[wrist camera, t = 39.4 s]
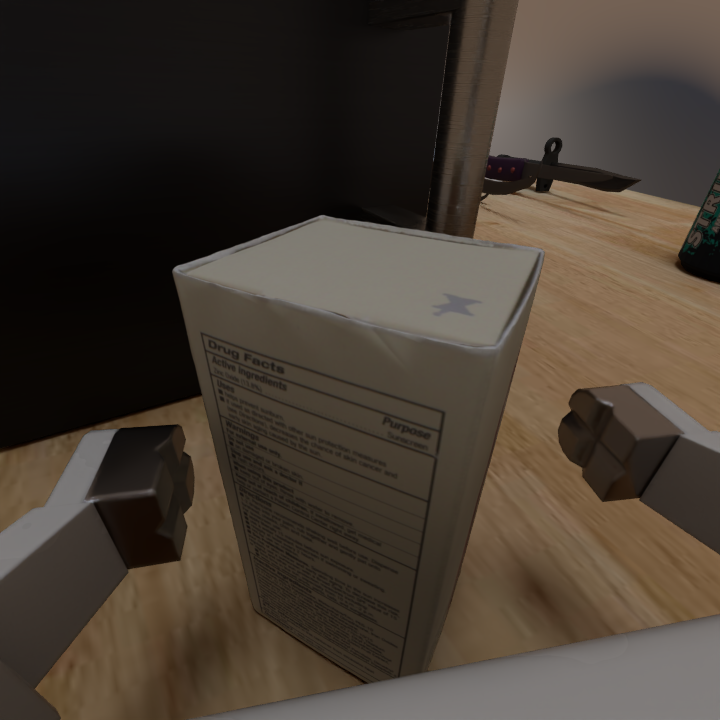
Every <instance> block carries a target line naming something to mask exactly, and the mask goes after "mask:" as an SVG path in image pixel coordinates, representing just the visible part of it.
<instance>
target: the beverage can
mask: <svg viewBox="0 0 720 720" xmlns="http://www.w3.org/2000/svg"><path fill="white" fill-rule="evenodd" d="M678 257H679V259H680V260H681V265H682V266H683V267H684V268H685V269H686V270H688V271H689V272H691V273H693V274H696V275H698V276H701V277H704V278H707V279H710V280H714V281H718V282H720V169H719V171H718V173H717V176H716V178H715V180H714V182H713V184H712V186H711V188H710V190H709V192H708V194H707V196H706V198H705V200H704V202H703V204H702V206H701V208H700V210H699V213H698V215H697V217H696V219H695V221H694V223H693V225H692V227H691V229H690V231H689V233H688V235H687V237H686V239H685V241H684V243H683V245H682V248H681V250H680V252H679V254H678Z"/></svg>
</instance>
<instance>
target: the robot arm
mask: <svg viewBox="0 0 720 720" xmlns="http://www.w3.org/2000/svg"><path fill="white" fill-rule="evenodd" d="M568 404H569V407H570V409H571V411H570V412H569V413H568V414H567V415H566V416H565V417H564V418H563V419H562V420H561V423H560V426H559V429H558V437H559V444H560V446H561V448H562V451H563V452H564V454H565V455H566V456H567V458H568V459H569V460H570V461H571V462H573V463H575V464H577V465H578V466H580V467H582V477H583V478H584V479H585V481H586V482H587V483H588V484H589V486H590V487H591V488H592V489H593V491H594V492H595V493H596V494H597V496H598V497H599V498H600V500H601V501H602V502H607V501H616V500H626V499H635V498H640V499H639V500H640V501H641V502H643V503H644V504H646V505H647V506H649V507H650V508H651V509H653V510H654V511H656V512H657V513H659V514H660V515H662V516H663V517H665V518H666V519H668V520H669V521H671V522H672V523H674V524H675V525H677V526H678V527H680V528H681V529H683V530H684V531H685V532H687V533H688V534H690V535H691V536H693V537H694V538H696V539H697V540H699V541H700V542H702V543H703V544H705V545H706V546H708V547H709V548H711V549H712V550H714V551H715V552H716V553H718V554H719V555H720V432H717V431H712V432H710V431H708V430H707V429H706V428H705V427H703V426H702V425H701V424H699V423H698V422H697V421H696V420H694V419H693V418H692V417H691V416H689V415H688V414H687V413H686V412H684V411H683V410H682V409H680V408H679V407H678V406H677V405H675V404H674V403H673V402H672V401H670V400H669V399H668V398H667V397H665V396H664V395H663V394H661V393H660V392H659V391H658V390H656V389H655V388H654V387H653V386H651V385H649V384H646V383H643V382H639V383H630V384H621V385H615V386H604V387H594V388H584V389H578V390H577V391H575V392H574V393H573V394H572V396H571V398H570V401H569V403H568ZM185 441H186V439H185V436H184V432H183V429H182V427H181V426H179V425H178V424H177V425H162V426H147V427H132V428H121V429H110V430H95V431H90V432H88V433H87V434H85V435H84V436H83V437H82V439H81V441H80V443H79V445H78V446H77V448H76V450H75V452H74V453H73V455H72V457H71V459H70V461H69V462H68V464H67V466H66V468H65V470H64V471H63V473H62V475H61V477H60V479H59V480H58V482H57V484H56V486H55V488H54V489H53V491H52V493H51V495H50V497H49V498H48V500H47V502H46V504H45V506H44V507H41V508H34V509H32V510H31V511H29V512H28V513H27V514H25V515H24V516H22V517H21V518H20V519H18V520H17V521H16V522H14V523H13V524H12V525H10V526H9V527H8V528H6V529H5V530H4V531H2V532H1V533H0V720H60V719H61V717H60V715H59V713H58V712H57V710H56V708H55V707H54V706H52V705H51V704H50V703H49V702H48V701H47V700H46V699H45V698H44V697H43V696H41V695H40V694H39V693H38V692H37V691H36V690H35V688H36V686H37V685H38V684H39V683H40V681H41V680H42V679H43V678H44V676H45V675H46V674H47V673H48V672H49V670H50V669H51V668H52V667H53V665H54V664H55V663H56V662H57V660H58V659H59V658H60V657H61V655H62V654H63V653H64V652H65V650H66V649H67V648H68V647H69V645H70V644H71V643H72V642H73V641H74V639H75V638H76V637H77V636H78V634H79V633H80V632H81V631H82V629H83V628H84V627H85V626H86V624H87V623H88V622H89V621H90V619H91V618H92V617H93V616H94V615H95V613H96V612H97V611H98V610H99V608H100V607H101V606H102V605H103V603H104V602H105V601H106V600H107V598H108V597H109V596H110V595H111V593H112V592H113V591H114V590H115V588H116V587H117V586H118V585H119V584H120V582H121V581H122V580H123V579H124V577H125V576H126V575H127V574H128V569H133V568H139V567H145V566H151V565H157V564H163V563H169V562H175V561H180V560H181V555H182V550H183V545H184V541H185V536H186V531H187V524H186V521H185V518H184V515H183V514H184V513H185V512H186V511H187V510H188V509H189V508H190V507H191V506H192V501H193V495H194V478H195V477H194V469H193V463H192V460H191V456H189V455H188V454H186V453H185V452H183V449H184V445H185ZM186 720H720V614H717V615H712V616H707V617H702V618H697V619H692V620H687V621H682V622H677V623H672V624H667V625H661V626H656V627H651V628H646V629H641V630H636V631H631V632H626V633H621V634H616V635H611V636H606V637H601V638H596V639H591V640H586V641H581V642H575V643H570V644H565V645H560V646H555V647H550V648H545V649H540V650H535V651H530V652H525V653H520V654H515V655H510V656H505V657H500V658H494V659H489V660H484V661H479V662H474V663H469V664H464V665H459V666H454V667H449V668H444V669H439V670H434V671H429V672H424V673H419V674H414V675H408V676H403V677H398V678H393V679H388V680H383V681H378V682H373V683H368V684H363V685H358V686H353V687H348V688H343V689H338V690H333V691H328V692H323V693H318V694H313V695H308V696H302V697H297V698H292V699H287V700H282V701H277V702H272V703H267V704H262V705H257V706H252V707H247V708H242V709H237V710H232V711H227V712H222V713H217V714H212V715H207V716H202V717H196V718H191V719H186Z"/></svg>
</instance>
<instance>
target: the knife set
mask: <svg viewBox="0 0 720 720" xmlns="http://www.w3.org/2000/svg"><path fill="white" fill-rule="evenodd" d="M554 142H555V144H556V146H555V149H554V150H553V151H552V152H551V146H552V144H553V143H554ZM561 148H562V141H561V139H560V138H550V139H549V140H548V141H547V142H546V144H545V148H544V149H545V150H544V151H545V155H544V157H543V159H542V161H536V160H529V159H526V158H514V157H510V156H508V155H498V156H497V157H494V156H490V155H489V157H488V163H487V168H486V173H485V177H486V178H489V179H496V180H504V181H513V182H497V181H493V180H488V179H484V184H483V189H482V193H487V194H486V195H484V196H482V197H481V199H480V201H482V200H483V199H485V198H486V197H487V196H488V195H489V194H492V195H507V194H510V193H513V192H516V191H519V190H522V189H525V188H528V187H530V186H531V185H532V184H533V183H535V181H536V179H537V182H536V191H549V189H550V187H551V184H552V182H553V180H558V181H563V182H568V183H574V184H579V185H583V186H586V187H590V188H594V189H598V190H602V191H606V192H621V191H623V190H625V189H626V188H628V187H630V186H632V185H633V184H635V183H637V182H639V181H641V180H639V179H635V178H631V177H627V176H622V175H619V174H615V173H612V172H608V171H605V170H601V169H598V168H591V167H584V166H577V165H570V164H563V163H558V153H559V152H560V151H561ZM433 162H434V161H433ZM432 170H433V167H432ZM530 176H531V177H530ZM431 178H432V175H431ZM430 184H431V183H430Z"/></svg>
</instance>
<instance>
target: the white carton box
mask: <svg viewBox="0 0 720 720" xmlns="http://www.w3.org/2000/svg"><path fill="white" fill-rule="evenodd" d="M544 253H545V252H544V251H543V250H542V249H539V248H534V247H527V246H520V245H515V244H505V243H497V242H491V241H483V240H476V239H471V238H466V237H456V236H450V235H446V234H439V233H433V232H428V231H421V230H413V229H407V228H399V227H394V226H390V225H380V224H376V223H369V222H361V221H354V220H345V219H341V218H340V219H336V218H334V217H328V216H325V215H321V216H318V217H315V218H313V219H310V220H307V221H305V222H302V223H299V224H297V225H294V226H290V227H288V228H285V229H282V230H279V231H276V232H273V233H270V234H268V235H264V236H262V237H260V238H257V239H254V240H252V241H249V242H246V243H243V244H240V245H236V246H234V247H232V248H229V249H226V250H222V251H219V252H216V253H214V254H212V255H209V256H207V257H203V258H200V259H197V260H194V261H192V262H189V263H186V264H182V265H178V266H176V267H175V268H174V269H173V271H172V273H173V277H174V281H175V284H176V288H177V292H178V296H179V300H180V304H181V309H182V313H183V317H184V321H185V326H186V330H187V335H188V339H189V344H190V349H191V353H192V356H193V360H194V364H195V367H196V371H197V376H198V380H199V384H200V388H201V393H202V397H203V401H204V405H205V409H206V413H207V417H208V422H209V427H210V431H211V434H212V438H213V442H214V446H215V451H216V455H217V460H218V464H219V468H220V472H221V476H222V480H223V485H224V488H225V492H226V496H227V500H228V504H229V509H230V513H231V517H232V521H233V526H234V530H235V534H236V538H237V542H238V547H239V552H240V555H241V559H242V564H243V568H244V572H245V576H246V580H247V585H248V589H249V594H250V597H251V601H252V605H253V607H254V609H255V610H256V611H257V612H258V613H260V614H261V615H263V616H264V617H266V618H267V619H269V620H270V621H272V622H273V623H275V624H276V625H278V626H279V627H281V628H282V629H283V630H285V631H286V632H288V633H289V634H291V635H293V636H294V637H296V638H297V639H299V640H300V641H302V642H303V643H305V644H306V645H308V646H309V647H311V648H312V649H314V650H316V651H317V652H319V653H320V654H322V655H324V656H325V657H327V658H328V659H330V660H331V661H333V662H335V663H336V664H338V665H339V666H341V667H343V668H344V669H346V670H348V671H349V672H351V673H353V674H354V675H356V676H357V677H359V678H360V679H362V680H364V681H366V682H367V683H373V682H378V681H383V680H388V679H393V678H398V677H403V676H408V675H414V674H419V673H424V672H427V669H428V667H429V664H430V661H431V658H432V656H433V653H434V650H435V647H436V645H437V642H438V639H439V636H440V634H441V631H442V628H443V625H444V622H445V619H446V616H447V613H448V610H449V607H450V604H451V601H452V597H453V594H454V590H455V587H456V583H457V580H458V577H459V574H460V570H461V566H462V563H463V559H464V556H465V552H466V548H467V545H468V541H469V537H470V534H471V530H472V526H473V523H474V519H475V515H476V512H477V508H478V504H479V500H480V497H481V493H482V490H483V486H484V482H485V479H486V475H487V471H488V468H489V464H490V461H491V457H492V453H493V450H494V446H495V442H496V439H497V435H498V431H499V428H500V424H501V420H502V416H503V413H504V409H505V405H506V401H507V398H508V394H509V390H510V386H511V382H512V379H513V375H514V371H515V367H516V363H517V360H518V356H519V352H520V348H521V344H522V341H523V337H524V334H525V330H526V326H527V323H528V319H529V315H530V311H531V307H532V304H533V300H534V296H535V292H536V288H537V284H538V281H539V277H540V273H541V269H542V265H543V261H544Z"/></svg>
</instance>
